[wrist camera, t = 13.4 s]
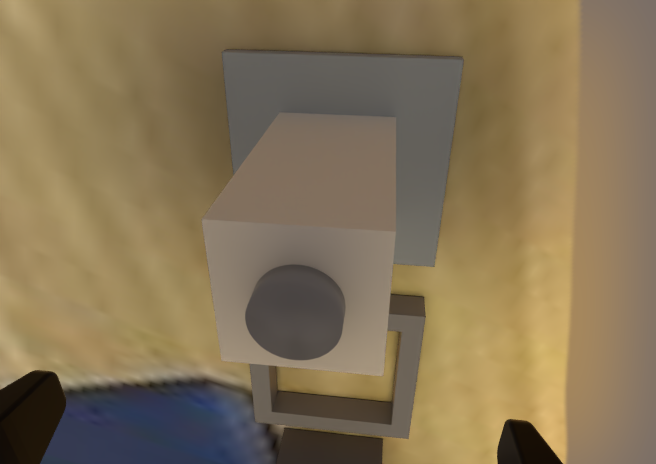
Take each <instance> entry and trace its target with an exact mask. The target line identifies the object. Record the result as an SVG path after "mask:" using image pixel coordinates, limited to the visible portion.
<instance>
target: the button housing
mask: <svg viewBox="0 0 656 464" xmlns="http://www.w3.org/2000/svg"><path fill="white" fill-rule="evenodd" d="M382 446H383V439H378V438H369V437H360V436H351V435H342V434H333V433H324V432H315V431H306V430H297V429H288V428H284V432H283V437H282V441H281V445H280V449H279V454H278V458H277V462H276V464H382Z"/></svg>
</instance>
